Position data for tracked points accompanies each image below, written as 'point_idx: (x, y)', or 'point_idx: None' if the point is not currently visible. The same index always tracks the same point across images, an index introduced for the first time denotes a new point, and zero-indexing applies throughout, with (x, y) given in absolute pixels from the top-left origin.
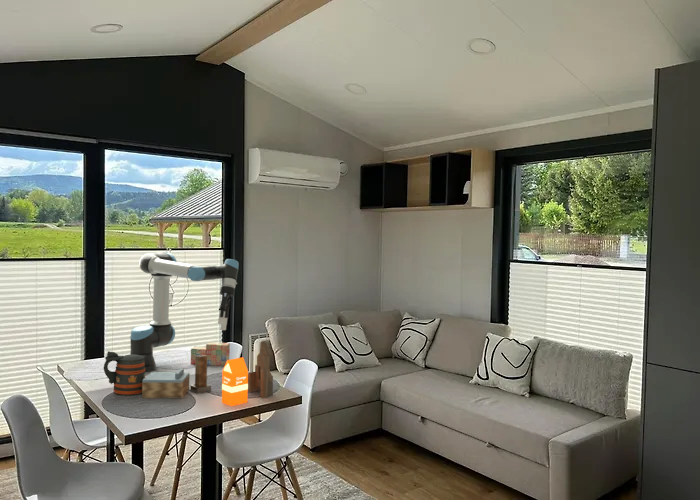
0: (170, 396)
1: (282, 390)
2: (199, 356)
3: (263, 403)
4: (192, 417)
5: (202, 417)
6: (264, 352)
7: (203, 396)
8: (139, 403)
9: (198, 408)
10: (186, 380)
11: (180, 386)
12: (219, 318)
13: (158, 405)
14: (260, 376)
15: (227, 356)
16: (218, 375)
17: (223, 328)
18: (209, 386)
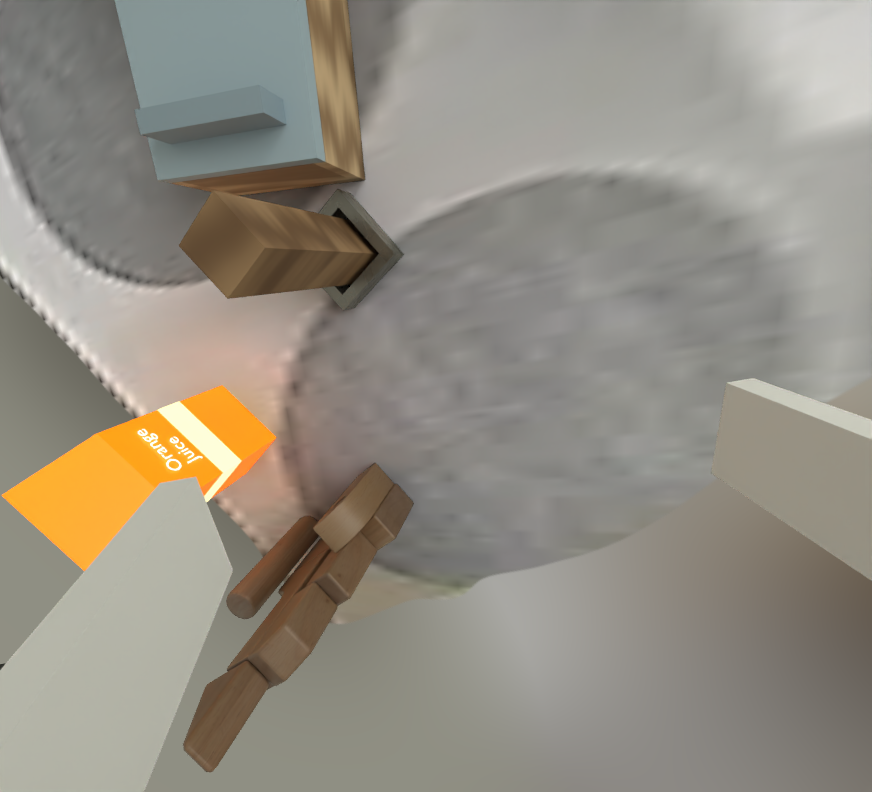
0: None
1: (399, 590)
2: (195, 238)
3: (246, 523)
4: (69, 316)
5: (80, 349)
6: (210, 688)
7: None
8: None
9: (143, 312)
10: (267, 174)
11: None
12: (90, 594)
13: (123, 124)
14: (317, 560)
15: None
16: (683, 273)
17: (740, 448)
18: (337, 302)
